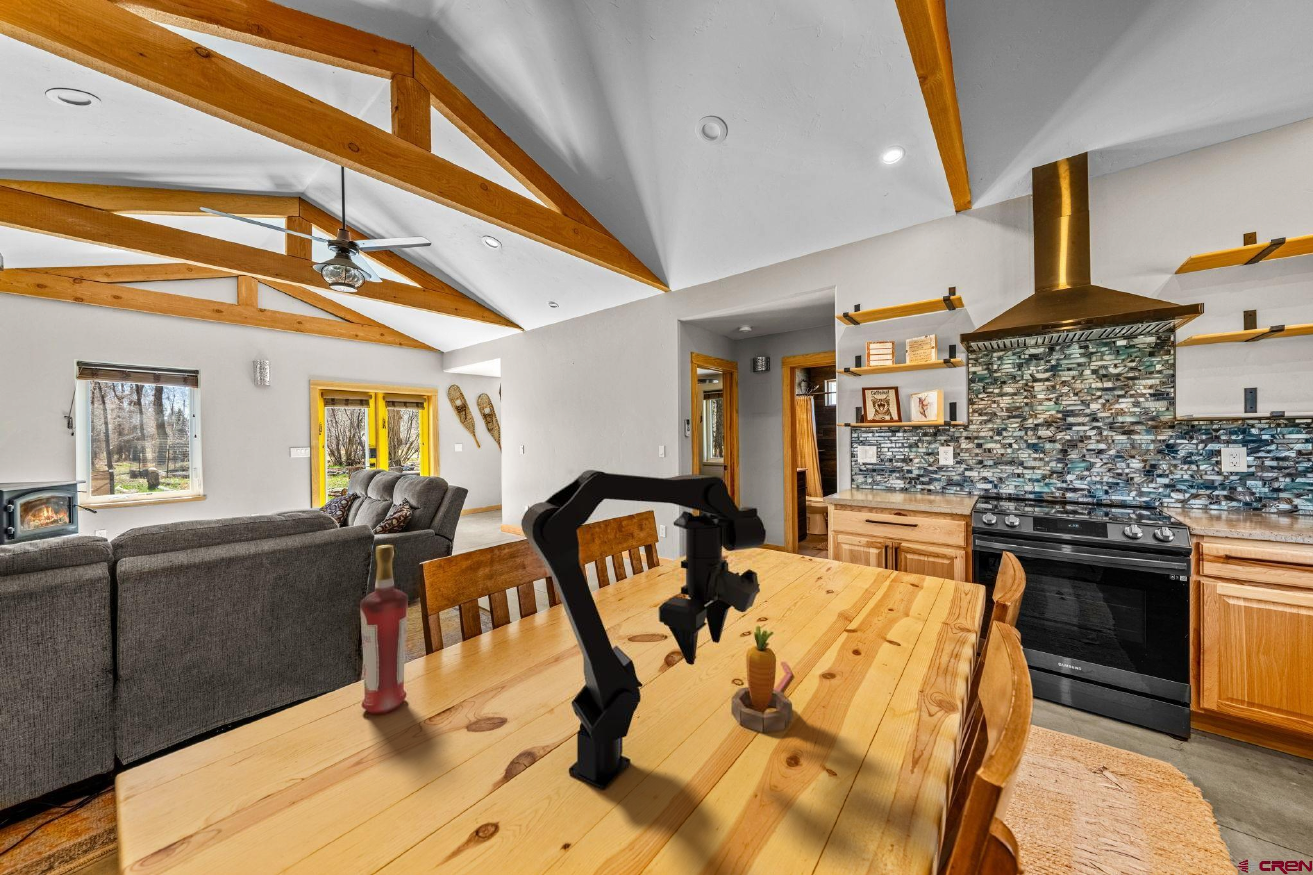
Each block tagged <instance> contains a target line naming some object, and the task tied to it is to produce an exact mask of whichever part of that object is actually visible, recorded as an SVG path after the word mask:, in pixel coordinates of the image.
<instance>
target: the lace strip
mask: <svg viewBox="0 0 1313 875" xmlns="http://www.w3.org/2000/svg"><path fill="white" fill-rule="evenodd" d="M780 665H781V667H782V669H783V671H784V673H785V674H784V675H783V677H782V678H781V680H780V682H779V683H778V684H777V686H776V687H774V690H778V691H780V692H783V689H784V688H785V687H786V685H787V684H788V682H789V681H790V679H791V678H792V677H793V673H792V671H791V669H790V667H789V665H788V663H787V662H786V661H780Z"/></svg>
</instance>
